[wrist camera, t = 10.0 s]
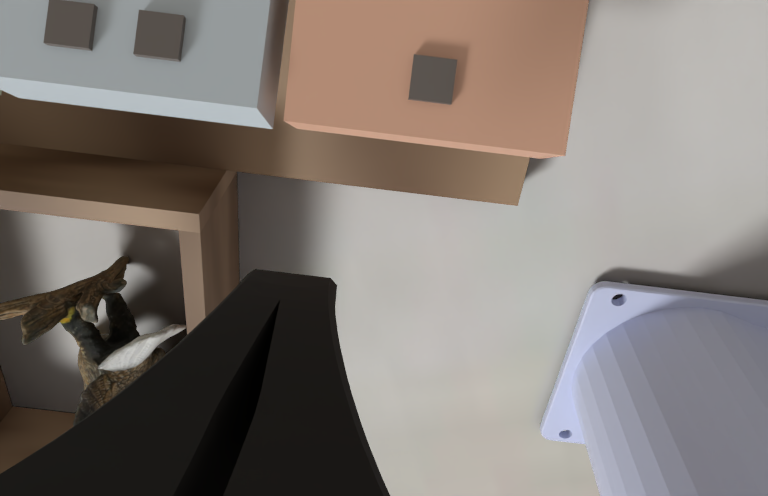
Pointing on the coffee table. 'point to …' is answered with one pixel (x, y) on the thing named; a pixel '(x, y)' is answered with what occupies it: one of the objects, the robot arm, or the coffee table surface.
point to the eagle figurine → (94, 333)
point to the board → (198, 190)
